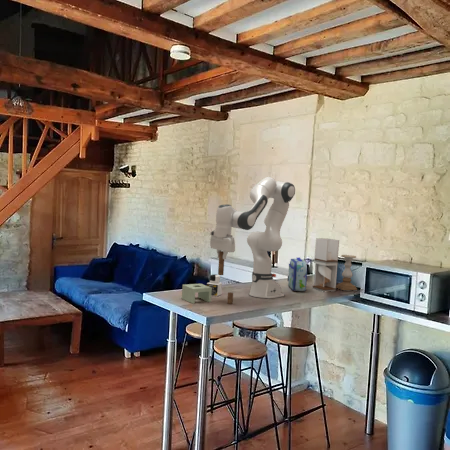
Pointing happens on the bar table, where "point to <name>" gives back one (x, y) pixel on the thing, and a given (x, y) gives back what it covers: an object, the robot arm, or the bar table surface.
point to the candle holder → (347, 275)
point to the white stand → (326, 264)
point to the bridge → (190, 290)
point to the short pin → (230, 298)
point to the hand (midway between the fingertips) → (221, 258)
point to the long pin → (221, 263)
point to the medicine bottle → (215, 285)
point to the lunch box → (297, 274)
